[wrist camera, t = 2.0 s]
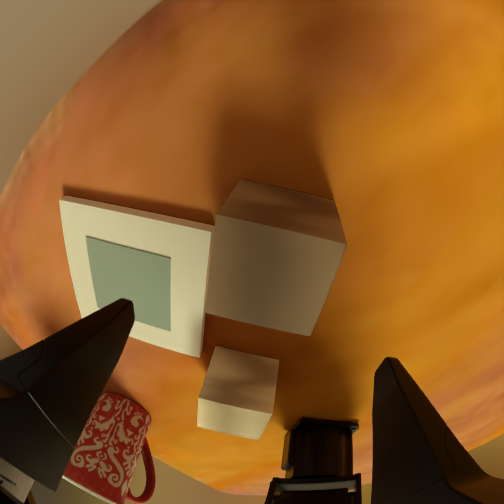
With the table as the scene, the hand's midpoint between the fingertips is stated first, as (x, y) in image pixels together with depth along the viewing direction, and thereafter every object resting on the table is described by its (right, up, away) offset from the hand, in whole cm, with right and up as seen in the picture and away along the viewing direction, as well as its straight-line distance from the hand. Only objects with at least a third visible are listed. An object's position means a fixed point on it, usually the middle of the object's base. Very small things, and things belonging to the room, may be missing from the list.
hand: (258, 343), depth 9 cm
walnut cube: (+1, +4, +7) cm, 8 cm away
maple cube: (-1, -7, +14) cm, 15 cm away
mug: (-16, -18, +23) cm, 33 cm away
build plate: (-9, +1, +10) cm, 13 cm away
